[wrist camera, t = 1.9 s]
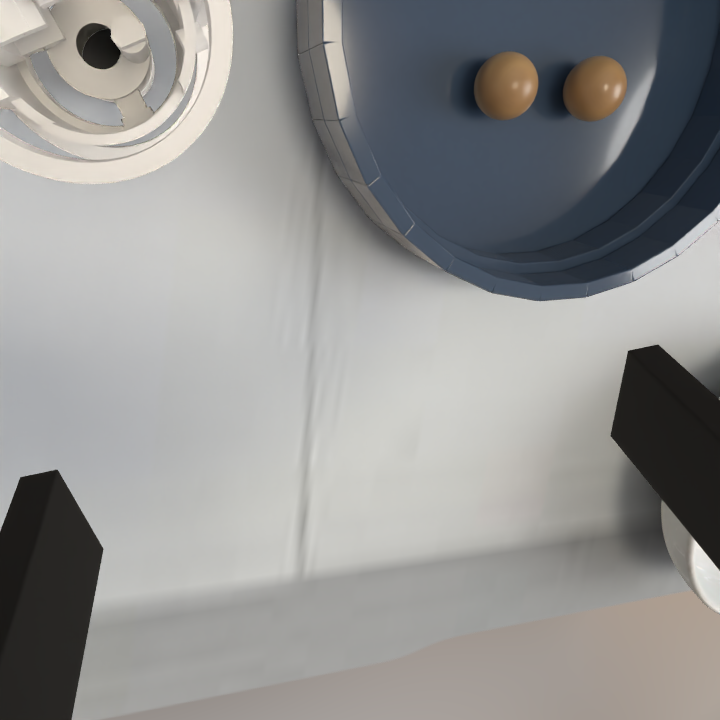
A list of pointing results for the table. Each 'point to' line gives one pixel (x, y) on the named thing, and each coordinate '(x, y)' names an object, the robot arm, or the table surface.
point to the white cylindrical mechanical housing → (109, 84)
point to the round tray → (521, 135)
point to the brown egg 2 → (594, 88)
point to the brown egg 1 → (506, 85)
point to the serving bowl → (691, 560)
